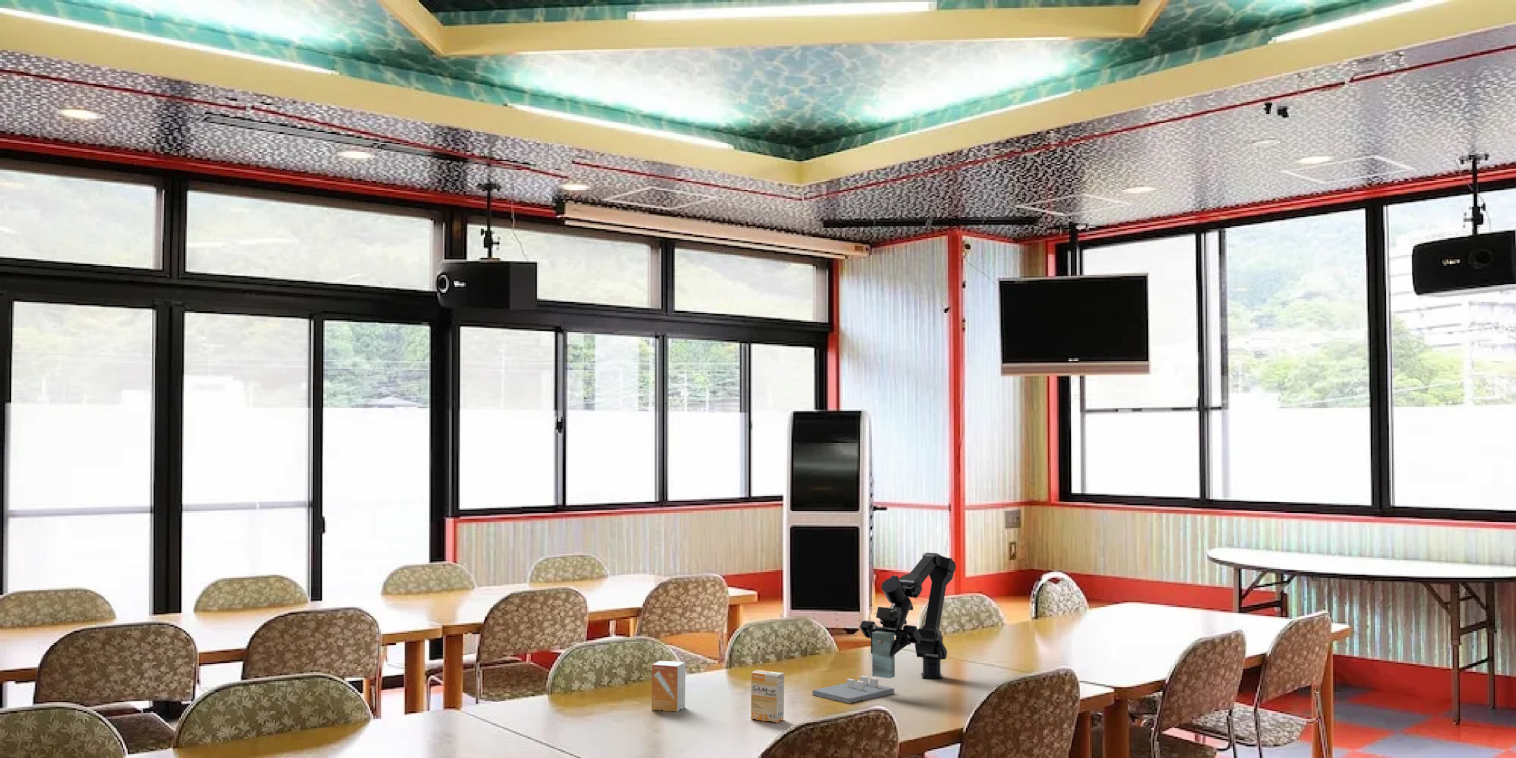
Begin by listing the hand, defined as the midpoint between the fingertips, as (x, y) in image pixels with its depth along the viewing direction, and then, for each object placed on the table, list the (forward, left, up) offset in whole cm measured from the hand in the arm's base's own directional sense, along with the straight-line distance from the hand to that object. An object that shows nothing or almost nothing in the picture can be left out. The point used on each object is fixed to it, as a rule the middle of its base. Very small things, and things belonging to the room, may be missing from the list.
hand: (881, 654), depth 349 cm
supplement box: (+30, -32, -13) cm, 46 cm away
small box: (+19, -61, -13) cm, 66 cm away
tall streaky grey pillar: (-1, +1, -7) cm, 7 cm away
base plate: (-3, -8, -12) cm, 15 cm away
